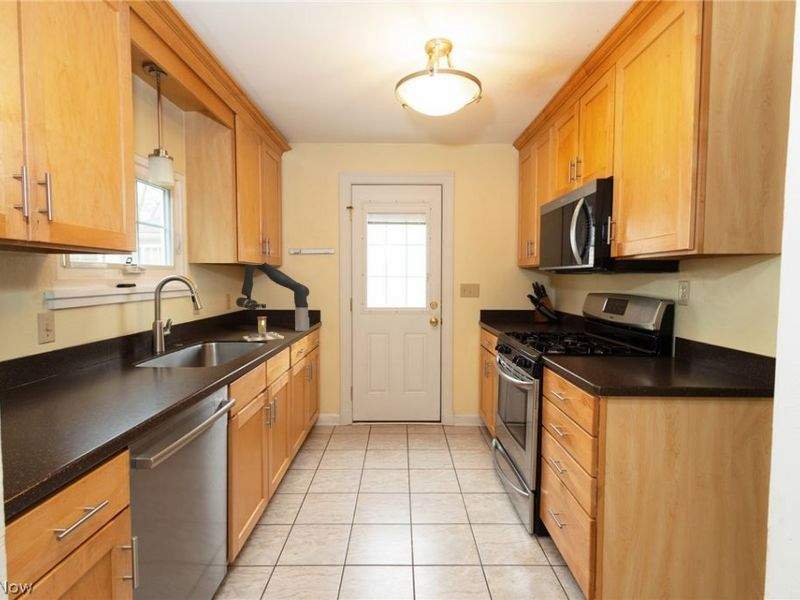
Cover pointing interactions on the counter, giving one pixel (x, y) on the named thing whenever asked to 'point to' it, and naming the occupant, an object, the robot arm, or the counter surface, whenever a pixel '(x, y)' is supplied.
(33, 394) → the counter surface
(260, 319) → the yellow jar
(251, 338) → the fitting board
